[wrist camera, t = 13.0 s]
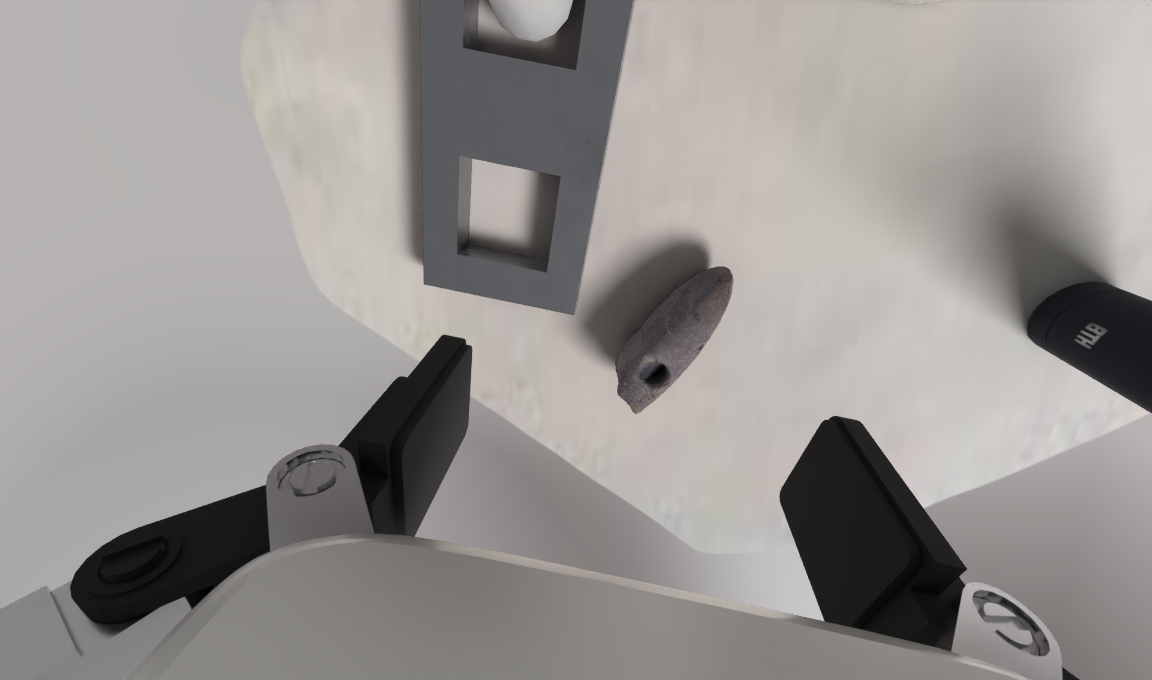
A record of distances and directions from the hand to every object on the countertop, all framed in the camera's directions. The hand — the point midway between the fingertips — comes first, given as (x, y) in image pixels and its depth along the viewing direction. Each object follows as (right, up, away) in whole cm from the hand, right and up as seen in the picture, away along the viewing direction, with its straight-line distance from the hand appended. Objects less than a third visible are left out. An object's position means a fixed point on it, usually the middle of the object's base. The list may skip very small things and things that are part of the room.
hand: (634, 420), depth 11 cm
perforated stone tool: (+8, +4, +30) cm, 31 cm away
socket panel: (-6, +20, +22) cm, 30 cm away
